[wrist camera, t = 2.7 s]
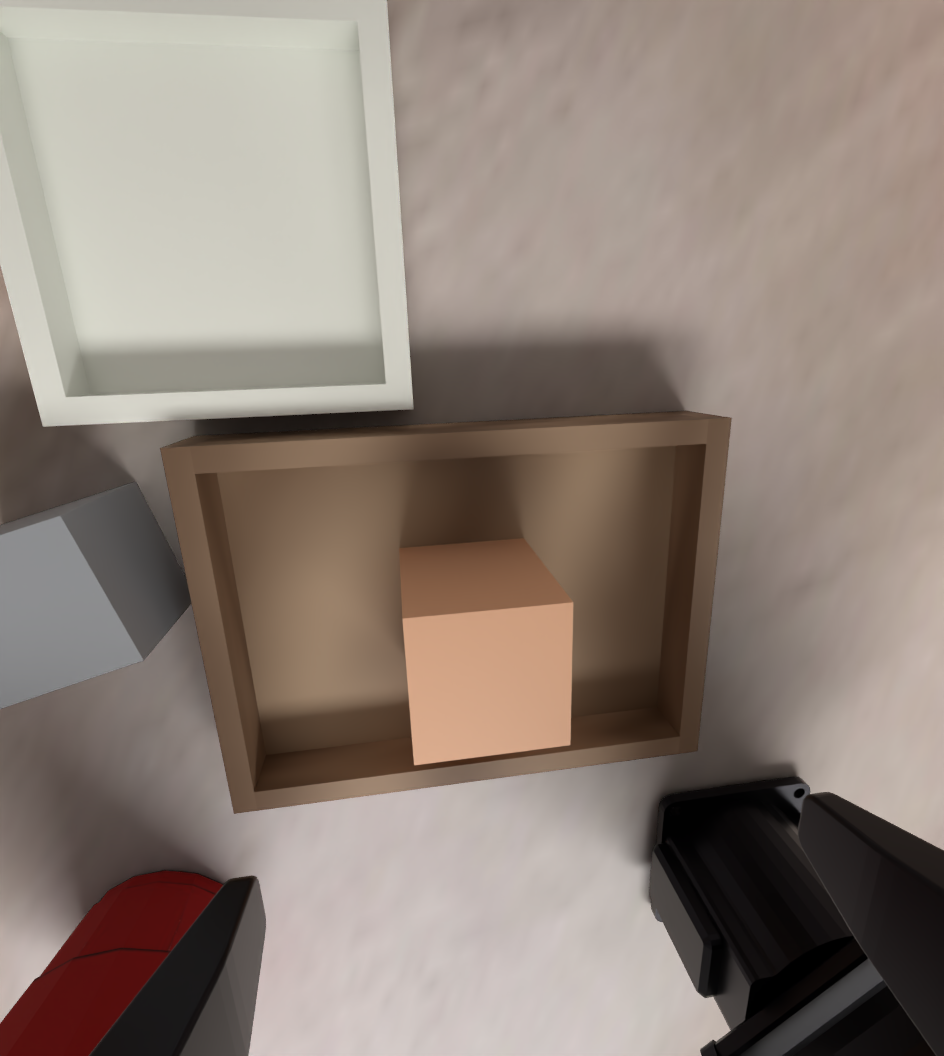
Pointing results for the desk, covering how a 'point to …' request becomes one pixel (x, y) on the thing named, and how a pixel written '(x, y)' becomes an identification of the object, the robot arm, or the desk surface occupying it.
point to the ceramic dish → (202, 208)
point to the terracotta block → (485, 650)
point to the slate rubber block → (83, 592)
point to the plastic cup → (104, 964)
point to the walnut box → (437, 519)
